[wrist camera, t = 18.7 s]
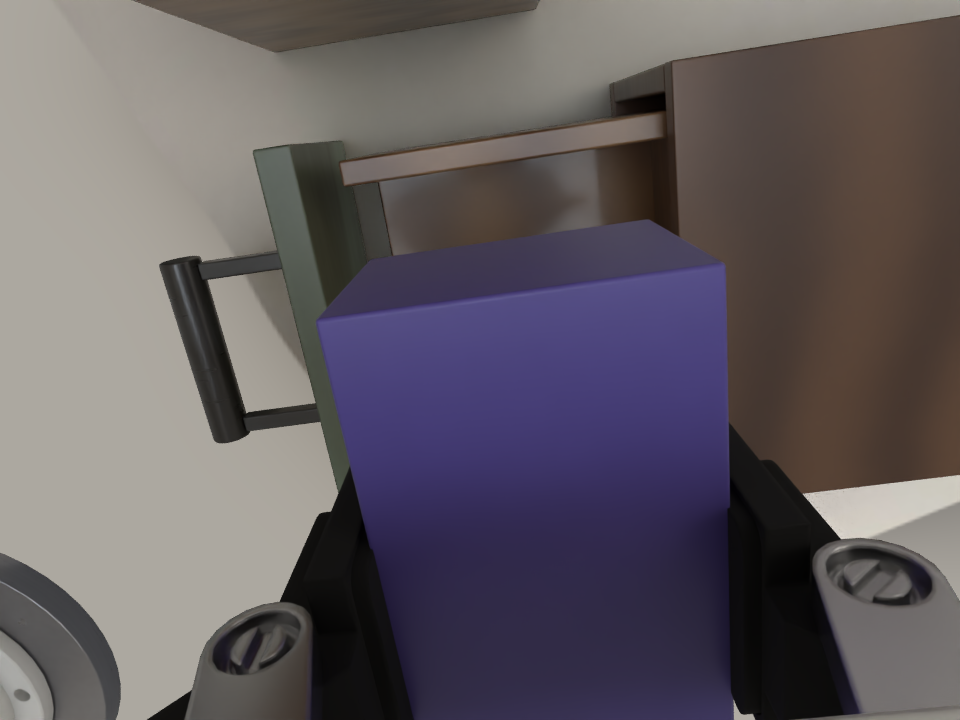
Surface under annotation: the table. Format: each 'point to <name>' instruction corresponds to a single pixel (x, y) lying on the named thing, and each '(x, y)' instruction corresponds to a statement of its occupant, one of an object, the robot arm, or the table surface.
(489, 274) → the snack box
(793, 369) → the cabinet
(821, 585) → the robot arm
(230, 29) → the stand
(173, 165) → the table surface
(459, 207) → the drawer
